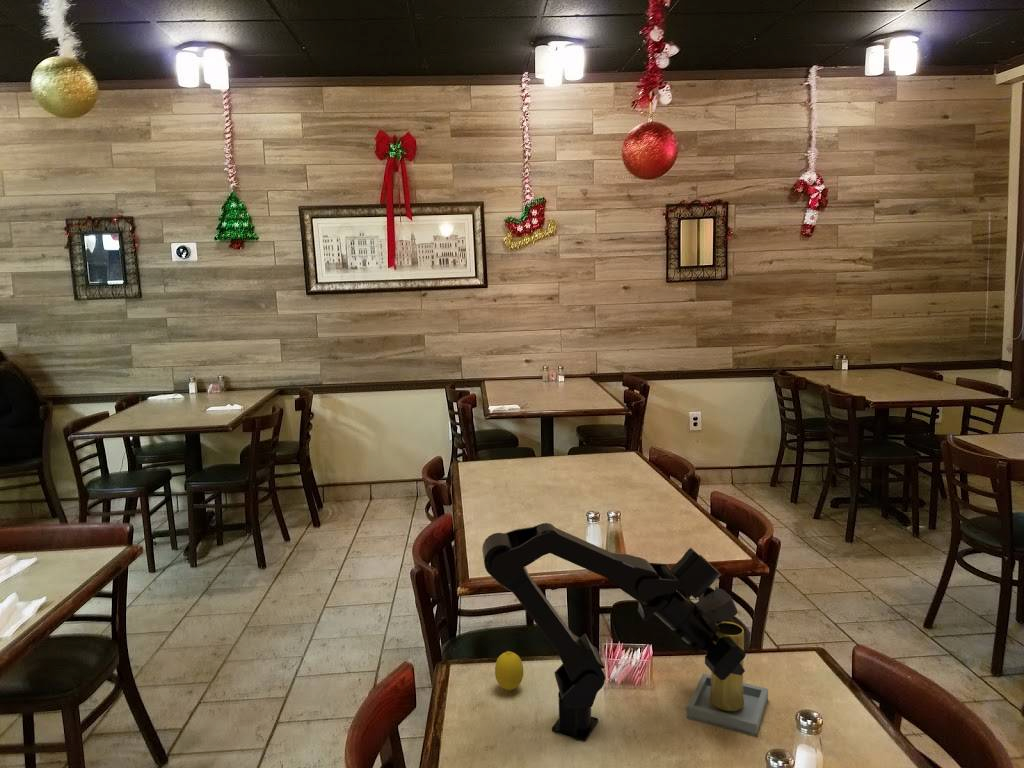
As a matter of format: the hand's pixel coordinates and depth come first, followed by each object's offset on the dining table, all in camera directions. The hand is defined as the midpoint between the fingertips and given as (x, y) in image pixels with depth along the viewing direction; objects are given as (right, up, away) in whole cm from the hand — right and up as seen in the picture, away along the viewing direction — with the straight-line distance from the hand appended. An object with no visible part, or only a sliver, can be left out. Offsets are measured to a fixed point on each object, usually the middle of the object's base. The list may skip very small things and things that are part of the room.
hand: (734, 664), depth 127 cm
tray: (-1, -8, +1) cm, 9 cm away
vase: (-1, -7, +1) cm, 7 cm away
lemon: (-41, -9, +9) cm, 43 cm away
